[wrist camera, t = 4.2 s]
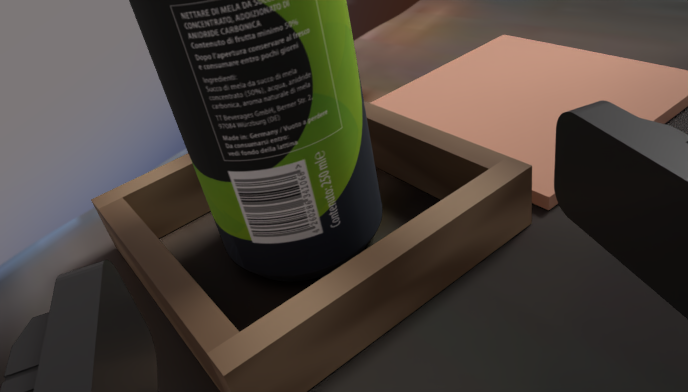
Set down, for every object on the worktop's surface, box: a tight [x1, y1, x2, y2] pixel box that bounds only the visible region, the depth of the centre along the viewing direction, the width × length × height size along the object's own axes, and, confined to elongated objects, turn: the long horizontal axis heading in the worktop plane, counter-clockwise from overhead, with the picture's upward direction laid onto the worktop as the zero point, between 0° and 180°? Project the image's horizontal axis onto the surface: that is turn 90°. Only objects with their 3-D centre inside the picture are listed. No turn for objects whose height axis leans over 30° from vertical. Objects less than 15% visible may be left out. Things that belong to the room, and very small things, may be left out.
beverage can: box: [129, 0, 382, 282], centre depth 18 cm, size 6×6×15 cm
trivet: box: [371, 35, 688, 210], centre depth 28 cm, size 12×12×1 cm
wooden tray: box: [91, 101, 532, 392], centre depth 22 cm, size 12×12×2 cm
